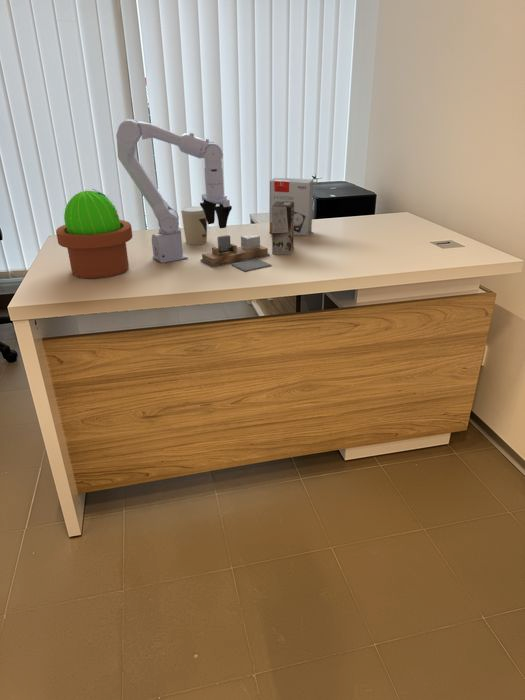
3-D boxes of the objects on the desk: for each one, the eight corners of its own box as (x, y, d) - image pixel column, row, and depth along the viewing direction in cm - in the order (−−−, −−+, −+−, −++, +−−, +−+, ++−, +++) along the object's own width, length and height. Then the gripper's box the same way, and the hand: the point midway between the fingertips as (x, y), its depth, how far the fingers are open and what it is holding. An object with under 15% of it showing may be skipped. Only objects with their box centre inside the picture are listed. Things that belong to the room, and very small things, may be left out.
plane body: (212, 267, 165) (211, 252, 163) (200, 261, 171) (199, 247, 169) (269, 255, 175) (269, 241, 173) (256, 250, 181) (256, 236, 179)
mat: (244, 271, 160) (244, 270, 160) (231, 265, 166) (231, 264, 166) (271, 265, 165) (271, 264, 165) (257, 259, 171) (257, 258, 171)
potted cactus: (62, 285, 152) (45, 197, 141) (66, 263, 171) (50, 184, 159) (139, 277, 157) (128, 192, 146) (134, 257, 176) (124, 180, 165)
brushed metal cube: (247, 250, 172) (247, 238, 170) (241, 247, 175) (240, 236, 173) (260, 248, 175) (259, 236, 173) (253, 245, 178) (253, 233, 176)
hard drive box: (268, 233, 202) (268, 180, 193) (274, 229, 208) (274, 177, 199) (308, 236, 197) (309, 181, 188) (312, 231, 204) (313, 178, 195)
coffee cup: (207, 244, 189) (205, 211, 183) (181, 245, 189) (178, 211, 184) (210, 238, 197) (208, 206, 192) (185, 238, 197) (183, 206, 192)
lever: (219, 254, 168) (218, 238, 166) (216, 253, 169) (215, 236, 167) (232, 251, 171) (231, 235, 168) (230, 250, 172) (229, 234, 169)
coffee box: (290, 254, 176) (290, 206, 168) (271, 254, 177) (271, 205, 170) (294, 247, 184) (294, 201, 176) (276, 246, 185) (276, 200, 178)
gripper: (237, 184, 163) (238, 227, 169) (213, 179, 173) (216, 220, 179) (217, 187, 159) (220, 231, 165) (194, 181, 170) (198, 223, 176)
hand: (216, 225), depth 172 cm, fingers open, 7 cm apart
